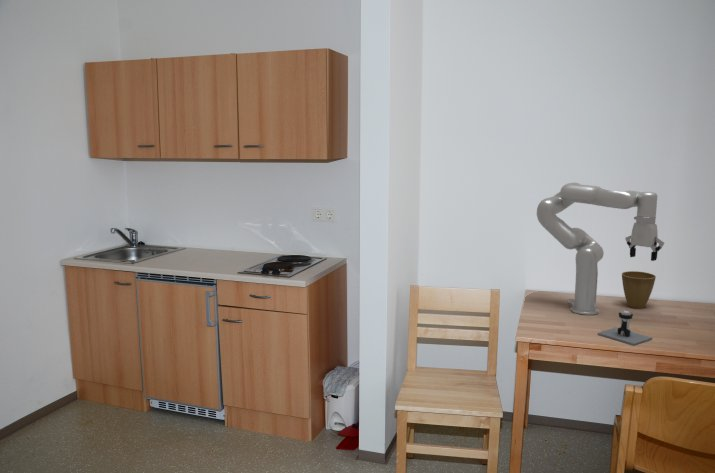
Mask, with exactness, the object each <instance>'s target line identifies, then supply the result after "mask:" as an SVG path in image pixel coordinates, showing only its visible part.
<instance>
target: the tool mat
mask: <svg viewBox="0 0 715 473" xmlns="http://www.w3.org/2000/svg"><path fill="white" fill-rule="evenodd" d="M618 328H619V327H613V328H611V329H606V330H603V331H600V332H599V331H598V332H597V336H601V337H604V338H607V339H611V340H614V341H617V342H621V343H624V344H627V345H630V346H638V345H640V344H643V343H646V342H649V341H651V340H653V337H652V336H648V335H644V334H640V333H637V332H634V331H631V336H629V337H626V336H622V335H620V334H618V332H616V331H618V330H616V329H618Z"/></svg>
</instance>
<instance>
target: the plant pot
mask: <svg viewBox="0 0 715 473" xmlns="http://www.w3.org/2000/svg"><path fill="white" fill-rule="evenodd" d="M656 277H657V276H656V275H655V274H654V273H650V272H645V271H636V270H631V271H630V270H629V271H623V272H622V273H621V279H622V280H621V281H622V288H623V293H624V296H625V298H624V299H625V301H626V304H627V307H629V308H633V309H645V307H646V305H647V303H648V301H649V299H650V297H651V295H652V292H653V289H654V285H655V282H656Z"/></svg>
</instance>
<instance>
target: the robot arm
mask: <svg viewBox="0 0 715 473" xmlns="http://www.w3.org/2000/svg"><path fill="white" fill-rule="evenodd" d="M574 203H579V204H585V205H586V204H587V205H593V206H599V207H600V206H601V207H606V208H612V209H619V210H629V209H630V208H636V216H634V217H633V220H635V222H634V223H633V226H632V228H631V229H632V230H631V234H630V235H629V236H625V238H624V239H625V241H626V244H627V246H628V248H629V257H630V258H635V257H636V251H637V249H636V246H637V247H645V248H650V249H651V253H650V262H654V261H657V259H658V253H659V251H660V250H661V249H662V248H663V247H664V245H665V242H664V241H663V240H661V239H659V237H658V235H659V234H658V232H659V231H658V225H657V223H656V219H657V207H658V205H657V204H658V194H657V193H656V192H652V191H636V190H627V191H617V190H610V189H604V188H602V187H601V186H597V185H589V184H580V183H578V182H570V183H566V184H564V185H563V186H562V187H561V188H560V191H559V192H557V193H556V194H555V195H553V196H550V197H545V198H544V199H542V200H541V201H540V202H539V203H538V205H537V208H536V218H537V220H538V223H539V224H540V225H541V226H542V227H543V228H544V230H546V231H547V232H548V233H549V234H550V235H552V236H553V238H554V239H555V240H556V241H558V242H559V243H560V244H561V245H562V246H563V248H565V249H566V250H576V251H577V252H576V255H575V284H574V285H575V286H574V299H573V298H569V299H568V301H567V303H568V304H569V305H571V307H570V309H569V310H570V311H571V312H573V313H574V314H579V315H587V316H588V315H589V316H591V315H592V316H593V315H598V314H599V313H600V309H599V308H597V306H596V305H597V290H598V269H599V268H598V263H599V262H600V261H601V260H602V259H603V257H604V255H605V254H604V253H605V252H604V249H603V247H602V246H601V245H600V244H599V242H597V241H596V240H595V239H594V238H593V237H592V236H590V234H588V233H587V232H586V231H585V230H584V229H582V228H579V227H571V226H569V225H568V224H567V223H566V222H565V221H564V220H563V219H561V218H560V217H559V216H558V215H557V214H560V213H562V212H563V211H564V210H566V209H567V208H569V207H571V205H573V204H574ZM657 245H658V246H657Z"/></svg>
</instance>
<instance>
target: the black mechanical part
mask: <svg viewBox="0 0 715 473" xmlns="http://www.w3.org/2000/svg"><path fill="white" fill-rule="evenodd" d="M633 316H634V315H633V313H632V312H631V311H630V310H625V309H624V310H621V311H620V312H618V318H620V324H619V325H620V326H619V327H617V328H618V329H616V330H618V331H616V332H618V334H620V335H622V336H626V337H629V336H631V332H632V330H631V328H630V324H631V320H632V319H633Z"/></svg>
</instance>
